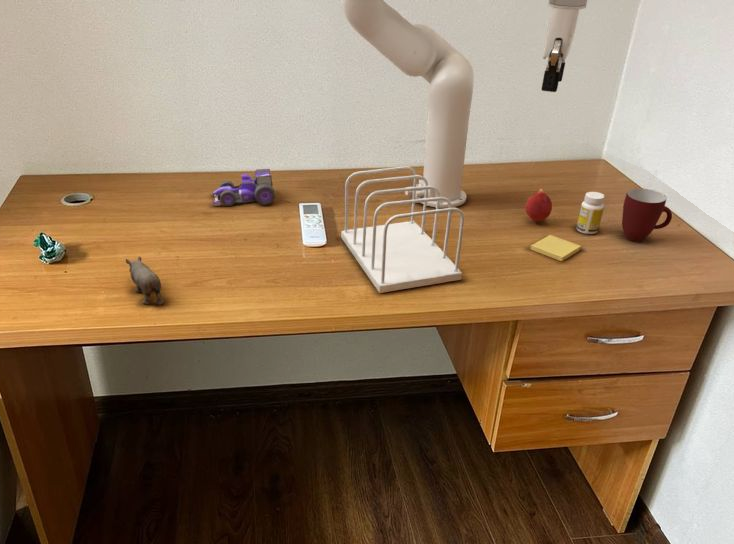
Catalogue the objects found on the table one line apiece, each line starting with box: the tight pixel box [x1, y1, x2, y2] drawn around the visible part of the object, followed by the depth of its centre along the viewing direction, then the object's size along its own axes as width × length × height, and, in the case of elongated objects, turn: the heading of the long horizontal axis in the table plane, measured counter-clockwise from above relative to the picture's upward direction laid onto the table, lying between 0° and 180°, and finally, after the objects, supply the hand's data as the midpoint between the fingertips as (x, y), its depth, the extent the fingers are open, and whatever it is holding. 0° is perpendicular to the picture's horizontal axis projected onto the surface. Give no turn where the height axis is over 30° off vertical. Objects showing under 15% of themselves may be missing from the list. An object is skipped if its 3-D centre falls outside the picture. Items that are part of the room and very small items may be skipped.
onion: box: [525, 188, 553, 224], centre depth 152 cm, size 6×6×8 cm
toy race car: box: [212, 168, 276, 207], centre depth 163 cm, size 10×15×6 cm, turn 100°
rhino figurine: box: [125, 256, 165, 306], centre depth 126 cm, size 4×14×6 cm, turn 33°
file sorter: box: [340, 165, 465, 294], centre depth 135 cm, size 25×17×16 cm
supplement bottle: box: [576, 191, 606, 235], centre depth 148 cm, size 5×5×8 cm
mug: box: [621, 188, 673, 243], centre depth 145 cm, size 11×8×10 cm
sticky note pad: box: [530, 234, 582, 262], centre depth 143 cm, size 8×8×1 cm
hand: (551, 85), depth 146 cm, fingers open, 9 cm apart
